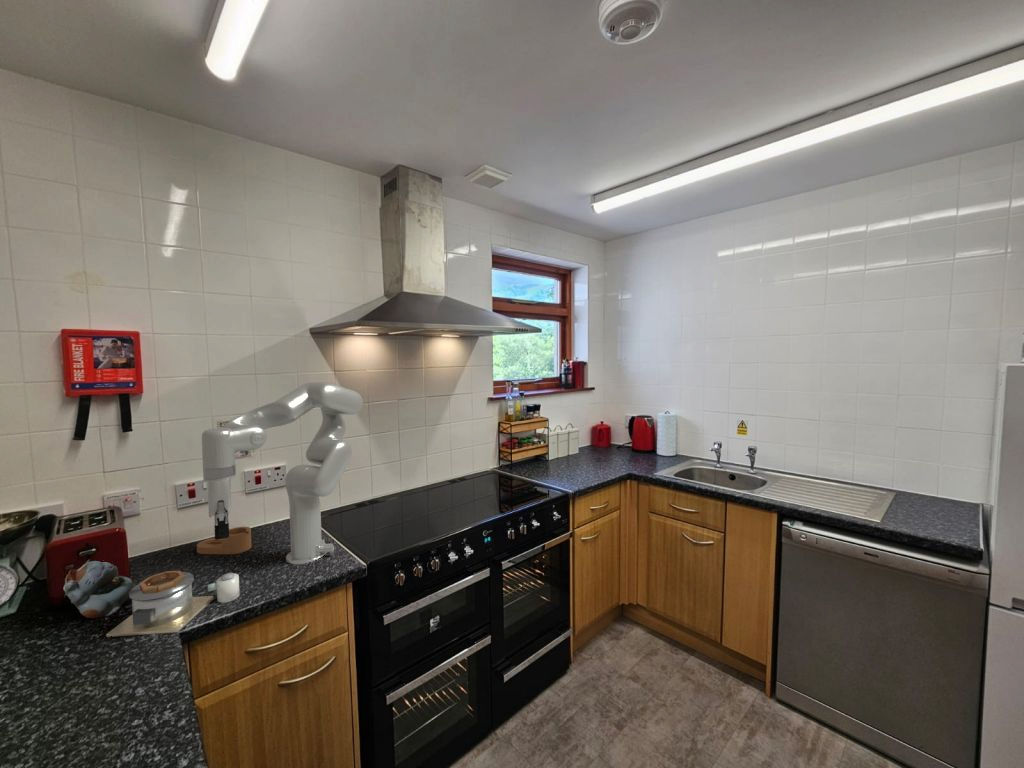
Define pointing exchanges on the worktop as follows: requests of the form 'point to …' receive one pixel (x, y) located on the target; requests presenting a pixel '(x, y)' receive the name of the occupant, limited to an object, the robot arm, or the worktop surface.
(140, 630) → the cylinder on square plate
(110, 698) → the worktop surface
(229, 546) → the brown rounded piece
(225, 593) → the drain pump
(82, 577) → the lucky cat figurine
